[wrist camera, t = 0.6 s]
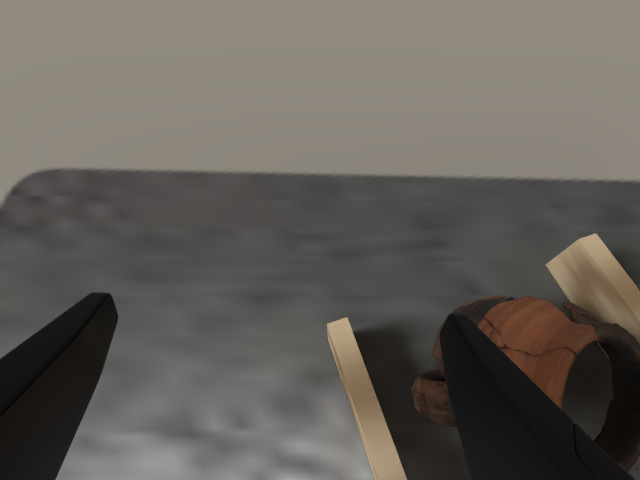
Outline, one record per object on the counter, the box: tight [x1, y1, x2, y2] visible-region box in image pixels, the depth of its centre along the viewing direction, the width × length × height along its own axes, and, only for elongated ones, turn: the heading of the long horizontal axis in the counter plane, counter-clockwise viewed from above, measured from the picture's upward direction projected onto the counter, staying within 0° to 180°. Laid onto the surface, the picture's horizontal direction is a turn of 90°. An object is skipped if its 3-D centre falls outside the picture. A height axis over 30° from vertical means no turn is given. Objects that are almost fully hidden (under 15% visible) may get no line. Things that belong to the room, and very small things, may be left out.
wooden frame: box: [327, 234, 640, 480], centre depth 19 cm, size 21×17×4 cm
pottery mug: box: [411, 296, 640, 472], centre depth 20 cm, size 12×10×8 cm
